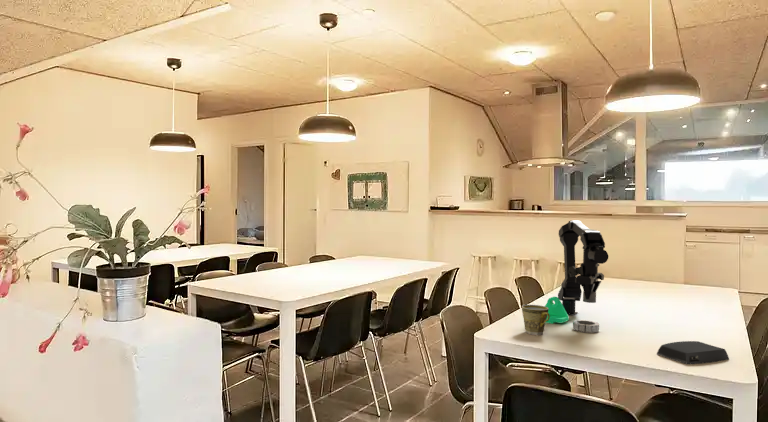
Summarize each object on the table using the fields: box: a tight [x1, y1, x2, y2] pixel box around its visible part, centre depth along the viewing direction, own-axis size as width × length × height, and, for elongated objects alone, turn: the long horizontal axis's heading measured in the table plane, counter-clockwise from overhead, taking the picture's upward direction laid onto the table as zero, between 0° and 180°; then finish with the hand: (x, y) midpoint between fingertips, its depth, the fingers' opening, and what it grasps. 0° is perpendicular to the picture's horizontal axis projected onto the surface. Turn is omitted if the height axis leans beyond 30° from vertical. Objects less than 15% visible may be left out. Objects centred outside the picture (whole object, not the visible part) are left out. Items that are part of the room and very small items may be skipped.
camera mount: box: [544, 296, 570, 325], centre depth 222 cm, size 12×8×10 cm, turn 50°
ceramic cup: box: [521, 304, 550, 336], centre depth 200 cm, size 13×10×10 cm
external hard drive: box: [656, 340, 730, 365], centre depth 175 cm, size 13×19×4 cm
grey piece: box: [572, 319, 600, 334], centre depth 208 cm, size 10×10×3 cm
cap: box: [582, 290, 597, 304], centre depth 216 cm, size 5×5×4 cm
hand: (589, 298), depth 216 cm, fingers closed on cap, 5 cm apart
